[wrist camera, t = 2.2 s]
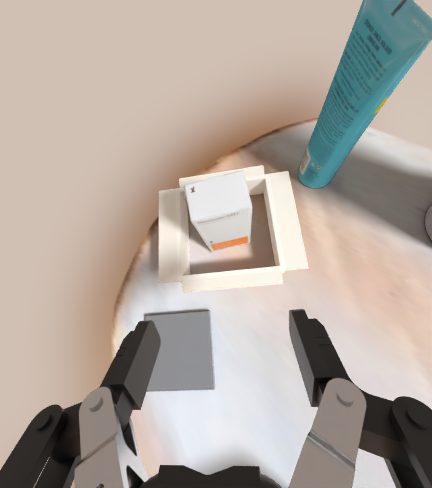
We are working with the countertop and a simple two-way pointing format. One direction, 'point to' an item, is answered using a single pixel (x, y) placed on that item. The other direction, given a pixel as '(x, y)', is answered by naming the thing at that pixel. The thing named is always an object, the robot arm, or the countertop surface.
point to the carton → (285, 256)
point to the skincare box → (221, 210)
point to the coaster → (183, 352)
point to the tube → (364, 81)
